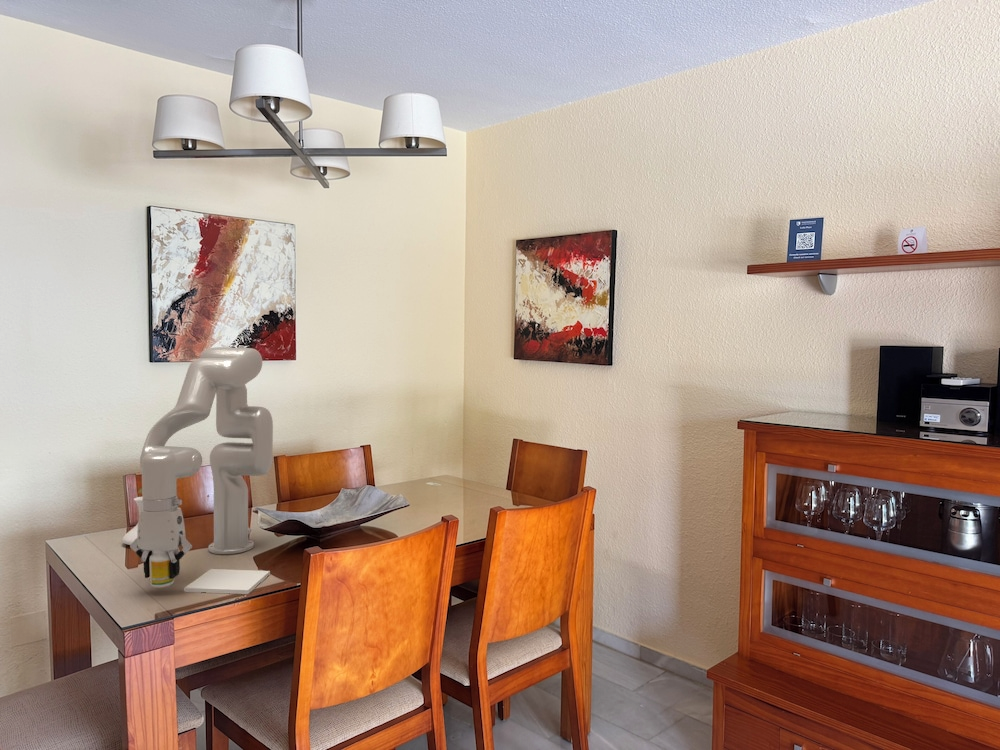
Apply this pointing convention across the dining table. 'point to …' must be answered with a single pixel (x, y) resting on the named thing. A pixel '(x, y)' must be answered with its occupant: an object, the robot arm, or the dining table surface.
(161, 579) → the supplement bottle
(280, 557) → the dining table surface
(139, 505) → the flower in vase
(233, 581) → the mat
